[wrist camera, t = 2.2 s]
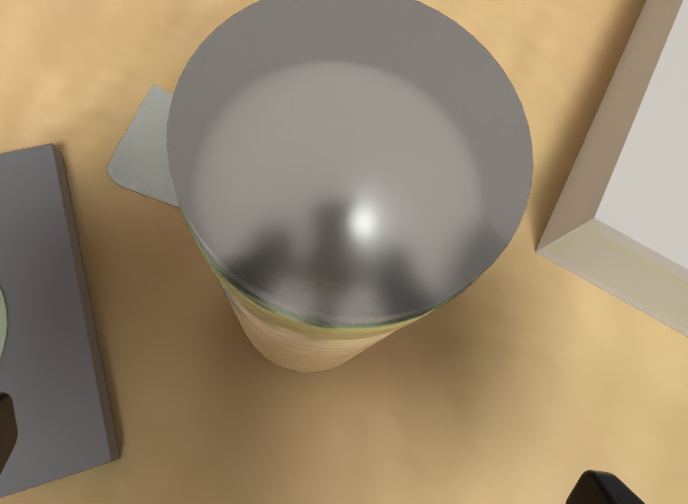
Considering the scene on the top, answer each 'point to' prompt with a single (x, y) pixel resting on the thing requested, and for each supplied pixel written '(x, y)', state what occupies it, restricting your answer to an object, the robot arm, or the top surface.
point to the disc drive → (634, 177)
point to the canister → (345, 169)
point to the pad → (47, 328)
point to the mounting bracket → (146, 151)
